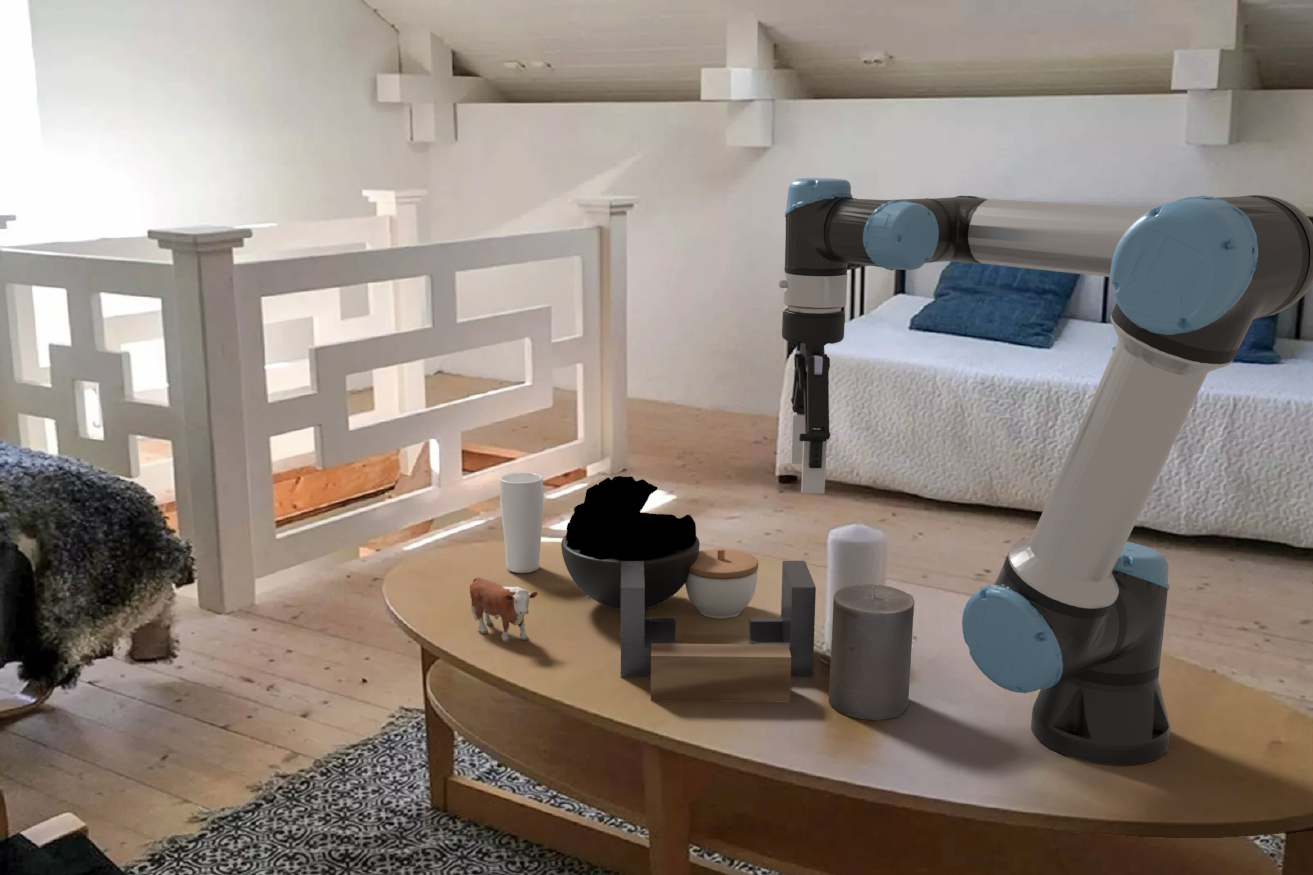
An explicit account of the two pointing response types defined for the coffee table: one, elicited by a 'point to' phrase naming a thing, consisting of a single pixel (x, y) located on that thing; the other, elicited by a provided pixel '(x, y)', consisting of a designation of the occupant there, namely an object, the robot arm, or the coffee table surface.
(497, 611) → the bull figurine
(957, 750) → the coffee table surface
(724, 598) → the lidded jar
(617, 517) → the dark grey bowl
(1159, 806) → the coffee table surface
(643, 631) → the grey stand
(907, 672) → the pillar candle
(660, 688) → the rail
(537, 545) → the drinking glass
